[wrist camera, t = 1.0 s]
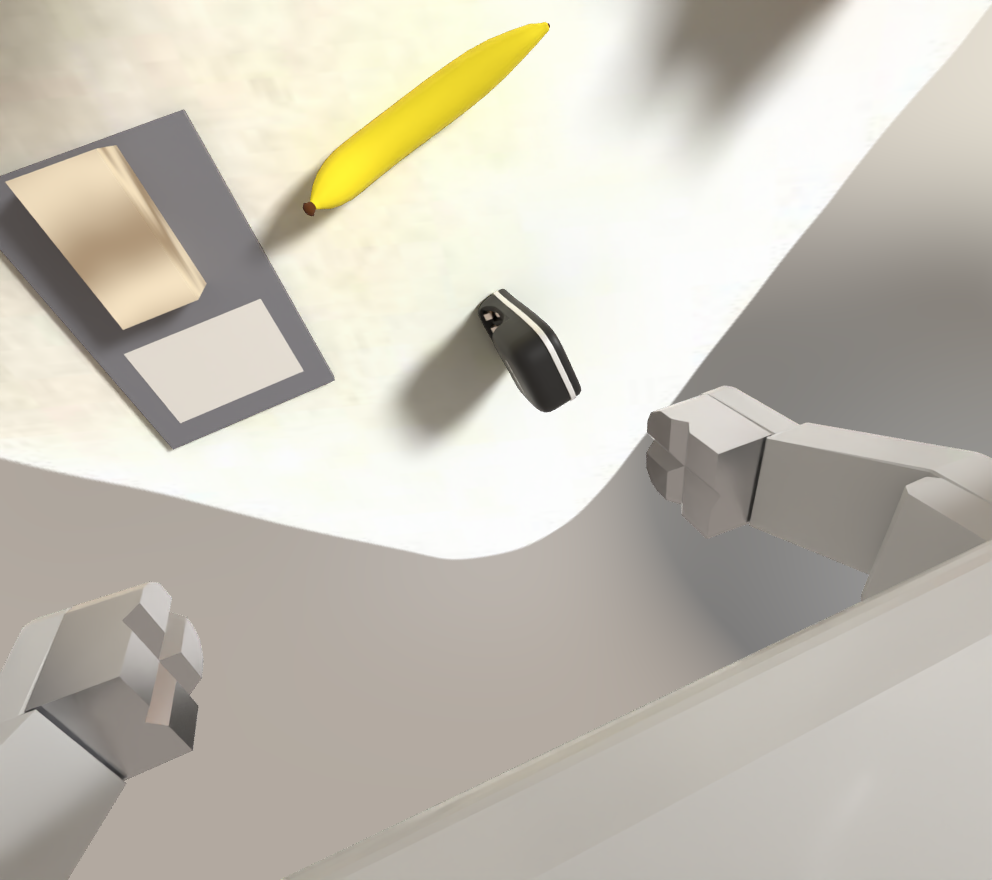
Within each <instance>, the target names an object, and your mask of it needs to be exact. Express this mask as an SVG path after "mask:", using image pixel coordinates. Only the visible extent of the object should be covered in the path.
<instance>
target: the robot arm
mask: <svg viewBox="0 0 992 880" xmlns="http://www.w3.org/2000/svg"><path fill="white" fill-rule="evenodd" d="M647 433H648V434H649V435H650V436H651V437H652V438H653V439H654V441H653V443H652V444H651V446H650V447H649V449H648V451H647V452H646V468H647V471H648V474H649V477H650V480H651V482H652V484H653V485H654V487H655V488H656V490H657V491H658V492H659V493H660V494H661V495H662V496H663V497H664V498H665V499H666V500H668V501H672V502H675V503H678V504H681V509H682V516H683V517H684V518H685V519H686V520H687V521H689V523H690V524H692V525H693V526H694V527H695V528H696V529H697V530H698V531H699V532H700V533H701V534H702V535H703V536H704V537H705V538H706V539H709V538H712V537H714V536H717V535H720V534H722V533H725V532H727V531H730V530H733V529H735V528H738V527H741V526H743V525H746V524H749V523H750V525H749V526H752V527H754V528H756V529H759V530H761V531H763V532H766V533H769V534H771V535H773V536H776V537H778V538H781V539H783V540H786V541H788V542H791V543H793V544H795V545H798V546H800V547H803V548H805V549H808V550H810V551H812V552H815V553H817V554H820V555H822V556H825V557H827V558H830V559H832V560H834V561H837V562H839V563H842V564H844V565H847V566H849V567H852V568H854V569H857V570H859V571H861V572H864V573H866V574H869V577H868V579H867V582H866V584H865V586H864V589H863V591H862V594H861V602H859V603H857V604H855V605H853V606H851V607H849V608H847V609H845V610H843V611H841V612H839V613H836V614H834V615H832V616H830V617H828V618H826V619H824V620H822V621H820V622H818V623H816V624H813V625H811V626H809V627H807V628H805V629H803V630H801V631H799V632H797V633H795V634H793V635H790V636H788V637H786V638H784V639H782V640H780V641H778V642H776V643H774V644H772V645H769V646H768V647H765V648H763V649H761V650H759V651H757V652H755V653H753V654H751V655H749V656H746V657H745V658H742V659H740V660H738V661H736V662H734V663H732V664H730V665H728V666H726V667H724V668H721V669H719V670H717V671H715V672H713V673H711V674H709V675H707V676H705V677H703V678H701V679H699V680H696V681H694V682H692V683H690V684H688V685H686V686H684V687H682V688H679V689H677V690H675V691H673V692H671V693H669V694H667V695H665V696H663V697H661V698H659V699H657V700H654V701H652V702H650V703H648V704H646V705H644V706H642V707H640V708H638V709H636V710H633V711H631V712H629V713H627V714H625V715H623V716H621V717H619V718H617V719H615V720H613V721H611V722H608V723H606V724H604V725H602V726H600V727H598V728H596V729H594V730H592V731H590V732H587V733H586V734H584V735H581V736H579V737H577V738H575V739H573V740H571V741H569V742H567V743H565V744H562V745H560V746H558V747H556V748H554V749H552V750H550V751H548V752H546V753H544V754H542V755H540V756H537V757H535V758H533V759H531V760H529V761H527V762H525V763H523V764H521V765H519V766H517V767H514V768H512V769H510V770H508V771H506V772H504V773H502V774H500V775H498V776H496V777H494V778H492V779H489V780H487V781H485V782H483V783H481V784H479V785H477V786H475V787H473V788H471V789H469V790H467V791H464V792H463V793H460V794H458V795H456V796H454V797H452V798H450V799H448V800H446V801H444V802H441V803H439V804H437V805H435V806H433V807H431V808H429V809H427V810H425V811H423V812H421V813H419V814H416V815H414V816H412V817H410V818H408V819H406V820H404V821H402V822H400V823H398V824H396V825H394V826H391V827H389V828H387V829H385V830H383V831H381V832H379V833H377V834H375V835H373V836H371V837H368V838H366V839H364V840H362V841H360V842H358V843H356V844H354V845H352V846H350V847H348V848H346V849H343V850H342V851H339V852H337V853H335V854H333V855H331V856H329V857H327V858H325V859H323V860H320V861H318V862H316V863H314V864H312V865H310V866H308V867H306V868H304V869H302V870H300V871H298V872H295V873H293V874H291V875H289V876H287V877H285V878H283V879H281V880H992V458H989V457H987V456H985V455H983V454H981V453H979V452H973V451H968V450H962V449H956V448H950V447H944V446H939V445H933V444H927V443H921V442H915V441H910V440H904V439H898V438H893V437H887V436H882V435H876V434H870V433H864V432H858V431H853V430H846V429H842V428H835V427H830V426H824V425H819V424H813V423H805V424H802V425H799V424H797V423H795V422H793V421H792V420H790V419H788V418H787V417H785V416H783V415H781V414H779V413H778V412H776V411H774V410H772V409H771V408H769V407H767V406H766V405H764V404H762V403H760V402H759V401H757V400H755V399H753V398H752V397H750V396H748V395H747V394H745V393H743V392H741V391H740V390H738V389H736V388H734V387H731V386H722V387H719V388H716V389H714V390H711V391H708V392H705V393H703V394H700V395H699V396H697V397H694V398H691V399H688V400H685V401H682V402H679V403H677V404H674V405H671V406H668V407H665V408H662V409H659V410H656V411H653V412H651V414H650V416H649V418H648V422H647ZM171 600H172V597H171V596H170V595H169V594H168V593H167V591H166V590H165V589H164V588H163V587H162V585H161V584H160V583H155V582H147V583H144V584H141V585H138V586H135V587H131V588H128V589H125V590H122V591H119V592H116V593H113V594H110V595H106V596H103V597H100V598H97V599H94V600H90V601H87V602H84V603H81V604H78V605H75V606H73V607H71V608H66V609H64V610H60V611H58V612H54V613H51V614H48V615H45V616H42V617H39V618H36V619H34V620H32V621H31V622H29V623H28V624H27V625H26V626H24V627H23V628H22V630H21V632H20V634H19V636H18V638H17V640H16V642H15V644H14V646H13V648H12V650H11V652H10V655H9V656H8V658H7V660H6V662H5V664H4V667H3V669H2V671H1V673H0V880H68V878H69V877H70V875H71V874H72V872H73V870H74V869H75V867H76V865H77V864H78V862H79V861H80V859H81V857H82V856H83V854H84V852H85V851H86V849H87V847H88V845H89V844H90V843H91V841H92V839H93V838H94V836H95V834H96V833H97V831H98V829H99V828H100V826H101V825H102V823H103V821H104V820H105V818H106V816H107V815H108V813H109V811H110V810H111V808H112V806H113V805H114V803H115V802H116V800H117V798H118V796H119V795H120V793H121V792H122V790H123V788H124V787H125V785H126V782H124V781H125V780H127V779H129V778H132V777H134V776H136V775H138V774H141V773H143V772H145V771H147V770H150V769H152V768H154V767H157V766H159V765H161V764H163V763H166V762H168V761H170V760H173V759H175V758H177V757H179V756H182V755H184V754H186V753H188V752H191V751H193V745H194V737H195V729H196V721H197V713H198V705H197V704H196V702H195V701H194V700H193V699H192V698H191V697H190V694H191V692H192V691H193V689H194V688H195V687H196V685H197V684H198V683H199V681H200V680H201V678H202V671H203V654H202V648H201V642H200V639H199V637H198V635H197V633H196V630H195V628H194V626H193V625H192V624H191V622H190V621H189V620H188V618H187V617H185V616H182V615H178V614H175V613H172V612H169V610H170V605H171Z"/></svg>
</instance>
